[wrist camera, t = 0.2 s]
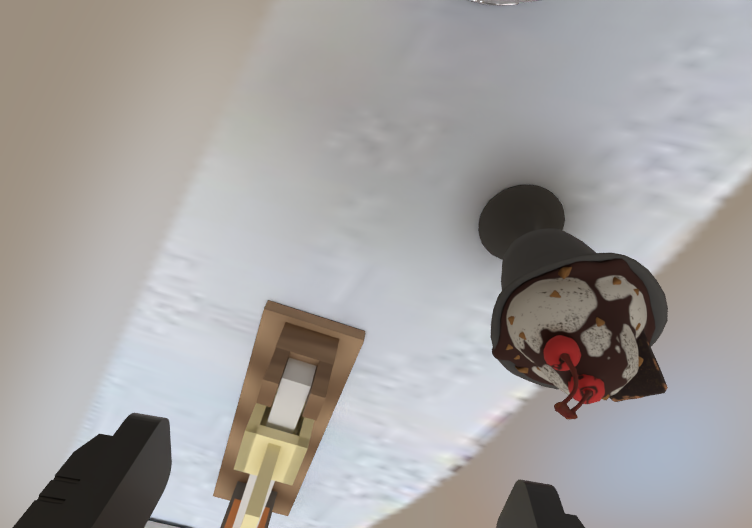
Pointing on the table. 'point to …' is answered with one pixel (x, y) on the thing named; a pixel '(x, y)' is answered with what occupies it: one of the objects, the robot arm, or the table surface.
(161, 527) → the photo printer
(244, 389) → the wooden bracket
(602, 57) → the table surface
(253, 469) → the marker sleeve
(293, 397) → the sliding door bolt
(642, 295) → the sundae
